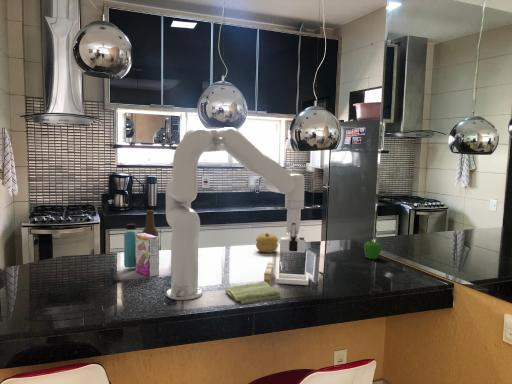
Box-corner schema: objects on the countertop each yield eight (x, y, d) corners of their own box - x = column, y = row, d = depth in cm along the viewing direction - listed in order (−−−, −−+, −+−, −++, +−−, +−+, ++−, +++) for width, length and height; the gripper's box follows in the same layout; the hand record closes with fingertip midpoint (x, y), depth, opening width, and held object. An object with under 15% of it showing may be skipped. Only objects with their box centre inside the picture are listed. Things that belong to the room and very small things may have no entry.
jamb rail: (270, 286, 156) (270, 273, 155) (263, 285, 156) (264, 273, 156) (273, 274, 172) (273, 263, 171) (267, 274, 172) (268, 262, 171)
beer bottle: (161, 259, 192) (162, 210, 190) (149, 263, 185) (149, 211, 183) (150, 257, 196) (150, 208, 194) (138, 260, 189) (137, 210, 187)
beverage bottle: (134, 271, 171) (134, 225, 169) (120, 270, 172) (120, 224, 171) (142, 267, 177) (142, 223, 176) (128, 266, 179) (128, 222, 177)
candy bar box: (134, 272, 171) (134, 234, 169) (145, 269, 175) (145, 232, 173) (149, 277, 163) (149, 238, 162) (159, 275, 167) (159, 236, 166)
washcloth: (223, 293, 148) (223, 285, 147) (266, 287, 155) (266, 279, 155) (237, 305, 136) (237, 296, 135) (282, 298, 143) (283, 290, 143)
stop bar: (280, 249, 164) (281, 235, 164) (305, 250, 163) (305, 236, 163) (280, 251, 160) (280, 237, 160) (305, 252, 159) (305, 238, 159)
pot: (280, 250, 216) (281, 232, 215) (272, 255, 205) (273, 236, 204) (260, 248, 221) (261, 230, 220) (252, 252, 210) (252, 233, 209)
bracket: (308, 285, 158) (308, 280, 158) (275, 283, 160) (275, 278, 160) (308, 279, 166) (308, 275, 165) (276, 277, 167) (276, 273, 167)
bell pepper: (366, 255, 209) (367, 236, 209) (382, 258, 205) (383, 238, 204) (360, 258, 203) (361, 239, 202) (377, 261, 198) (378, 241, 197)
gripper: (286, 202, 169) (285, 244, 170) (283, 207, 152) (282, 254, 154) (303, 202, 168) (302, 245, 169) (303, 207, 151) (302, 255, 153)
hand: (293, 249), depth 162 cm, fingers closed on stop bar, 4 cm apart
